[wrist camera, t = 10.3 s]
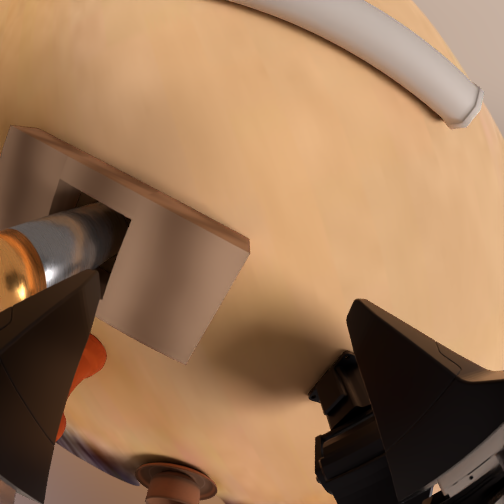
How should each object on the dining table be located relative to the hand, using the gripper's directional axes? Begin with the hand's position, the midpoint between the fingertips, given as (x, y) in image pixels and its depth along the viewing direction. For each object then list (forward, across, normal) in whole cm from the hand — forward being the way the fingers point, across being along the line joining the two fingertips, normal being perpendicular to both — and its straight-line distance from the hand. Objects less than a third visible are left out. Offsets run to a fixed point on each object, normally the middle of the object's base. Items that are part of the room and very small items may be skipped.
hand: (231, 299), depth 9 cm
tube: (+15, -6, -16) cm, 23 cm away
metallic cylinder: (+14, +9, +4) cm, 17 cm away
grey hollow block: (+14, +9, +4) cm, 17 cm away
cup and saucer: (+7, +2, +39) cm, 40 cm away
